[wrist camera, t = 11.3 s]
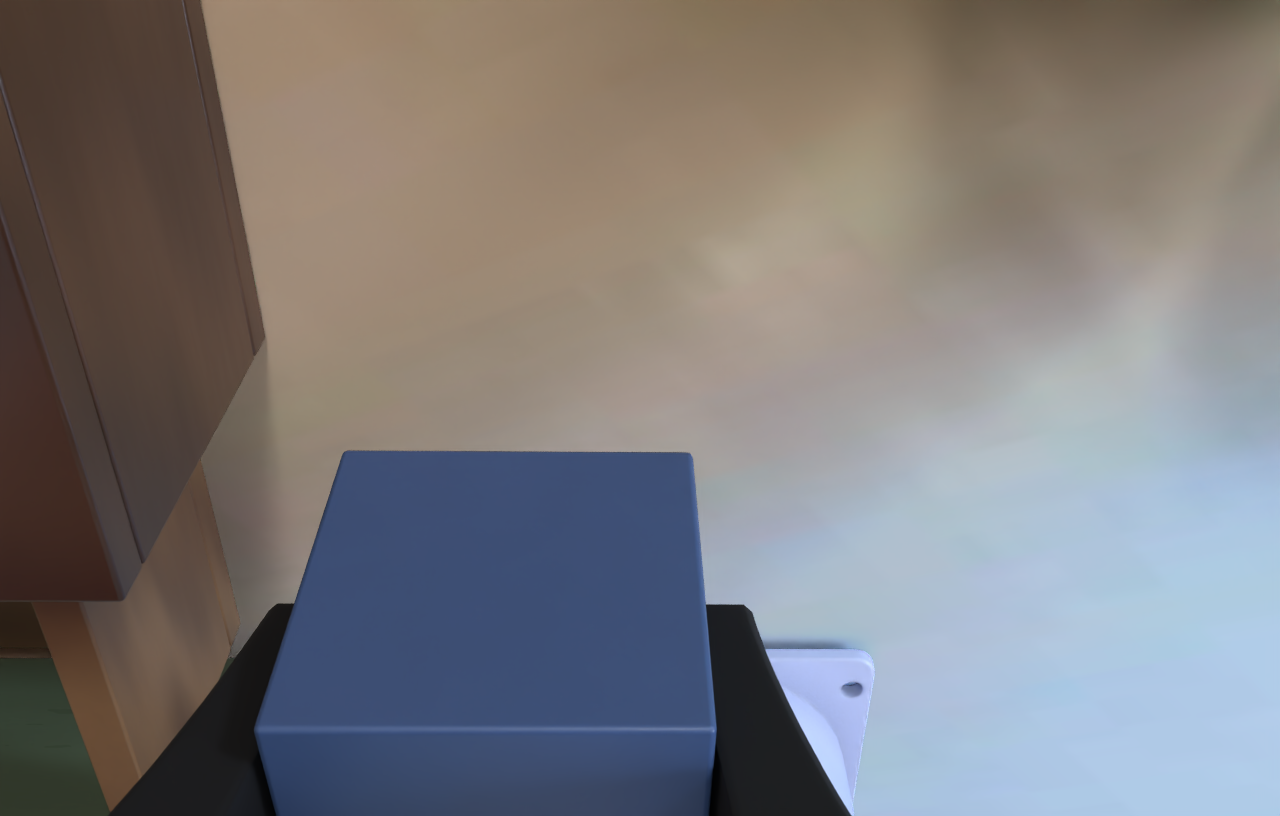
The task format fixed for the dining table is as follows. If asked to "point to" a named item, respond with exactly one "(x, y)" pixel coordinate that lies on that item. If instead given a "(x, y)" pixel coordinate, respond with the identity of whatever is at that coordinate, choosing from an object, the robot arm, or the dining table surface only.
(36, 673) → the drawer
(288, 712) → the block
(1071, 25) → the dining table surface
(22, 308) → the cabinet
